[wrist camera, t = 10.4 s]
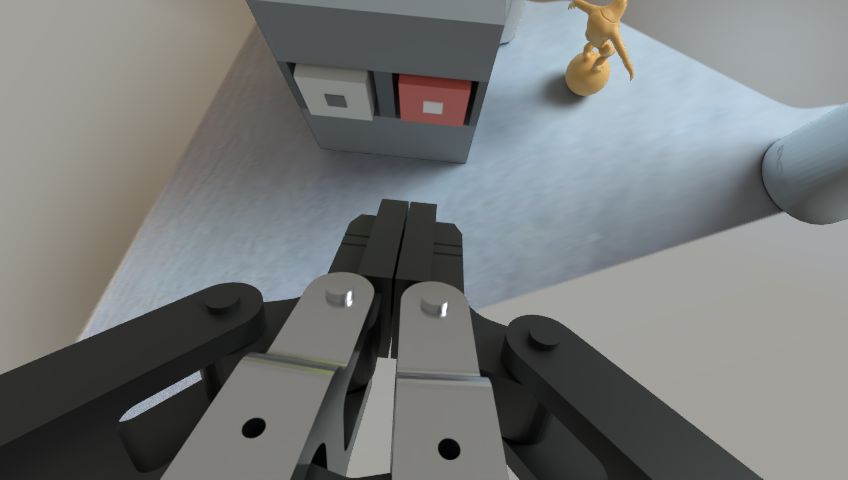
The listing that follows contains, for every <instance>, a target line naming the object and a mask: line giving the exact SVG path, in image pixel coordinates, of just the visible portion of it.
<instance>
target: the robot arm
mask: <svg viewBox="0 0 848 480" xmlns="http://www.w3.org/2000/svg"><path fill="white" fill-rule="evenodd" d="M762 176H763V181H764V184H765V187H766V189H767V191H768V193H769V195H770V196H771V198H772V199H773V201H774V202H775V203H776V204H777V205H778V206H779V207H780V208H781V209H782V210H783V211H785V212H786V213H787V214H789V215H790V216H792V217H794V218H796V219H798V220H800V221H803V222H807V223H810V224H819V225H823V224H831V223H835V222H839V221H842V220H846V219H848V102H847V103H846V104H844V105H842V106H840V107H838V108H836V109H834V110H833V111H831V112H829V113H827V114H825V115H824V116H822V117H820V118H818V119H816V120H814V121H812V122H811V123H809V124H807V125H805V126H803V127H801V128H800V129H798V130H796V131H794V132H792V133H791V134H789V135H787V136H785V137H783V138H782V139H780V140H778V141H776V142H775V143H774V144H773V145H772V146H771V147H770V148H769V149H768V151H767V152H766V154H765V156H764V160H763V163H762ZM436 209H437V204H428V203H418V202H411V204H410V208H409V202H408V201H398V200H389V199H382V202H381V205H380V208H379V210H378V213H377V216H373V215H364V214H361V215H360V216H359V217H357V218H356V219H355V220H353V221H352V222H350V224H349V226H348V228H347V231H346V233H345V236H344V237H343V240H342V242H341V245H340V247H339V249H338V251H337V253H336V256H335V258H334V260H333V263H332V265H331V267H330V269H329V272H328V274H326V275H323V276H321V277H318V278H317V279H315V280H314V281H312V282H311V283H310V284H309V286H308V287H307V288H306V290H305V292H304V293H303V295H302V296H301V297H298V298H294V299H288V300H280V301H271V302H263V297H262V294H261V292H260V291H259V290H258V289H257V288H255V287H253V286H251V285H248V284H245V283H234V282H232V283H223V284H218V285H214V286H211V287H208V288H206V289H203V290H201V291H199V292H196V293H194V294H192V295H189V296H187V297H184V298H182V299H180V300H177V301H175V302H173V303H170V304H168V305H165V306H163V307H161V308H158V309H156V310H153V311H151V312H149V313H146V314H144V315H142V316H139V317H137V318H134V319H132V320H130V321H127V322H125V323H123V324H120V325H118V326H115V327H113V328H111V329H108V330H106V331H104V332H101V333H99V334H96V335H94V336H92V337H89V338H87V339H84V340H82V341H80V342H77V343H75V344H73V345H70V346H68V347H65V348H63V349H61V350H58V351H56V352H54V353H51V354H49V355H46V356H44V357H42V358H39V359H37V360H34V361H32V362H30V363H27V364H25V365H23V366H20V367H18V368H16V369H13V370H11V371H9V372H6V373H4V374H1V375H0V480H509V476H508V472H507V466H506V464H507V465H508V466H509V468H510V469H511V470H512V471H513V472H514V474H515V475H516V476H517V477H518V478H519V480H763V479H762V478H761V477H759V476H758V475H757V474H755V473H754V472H753V471H752V470H750V469H749V468H748V467H747V466H745V465H744V464H743V463H741V462H740V461H739V460H737V459H736V458H735V457H734V456H732V455H731V454H730V453H728V452H727V451H726V450H725V449H723V448H722V447H721V446H719V445H718V444H717V443H715V442H714V441H713V440H712V439H710V438H709V437H708V436H706V435H705V434H704V433H703V432H701V431H700V430H699V429H698V428H696V427H695V426H694V425H692V424H691V423H690V422H688V421H687V420H686V419H684V418H683V417H682V416H681V415H679V414H678V413H677V412H676V411H674V410H673V409H671V408H670V407H669V406H668V405H667V404H665V403H664V402H663V401H661V400H660V399H658V397H656V396H655V395H654V394H652V393H651V392H650V391H648V390H647V389H646V388H645V387H643V386H642V385H641V384H639V383H638V382H637V381H635V380H634V379H633V378H632V377H630V376H629V375H628V374H626V373H625V372H624V371H623V370H621V369H620V368H619V367H617V366H616V365H615V364H614V363H612V362H611V361H610V360H608V359H607V358H606V357H605V356H603V355H602V354H601V353H599V352H598V351H597V350H595V349H594V348H593V347H592V346H590V345H589V344H588V343H587V342H585V341H584V340H583V339H581V338H580V337H579V336H578V335H576V334H575V333H574V332H572V331H571V330H570V329H568V328H567V327H566V326H564V325H563V324H561V323H559V322H558V321H556V320H553V319H551V318H548V317H544V316H539V315H525V316H520V317H518V318H516V319H514V320H512V322H510V324H509V325H508V326H505V325H502V324H499V323H496V322H493V321H491V320H488V319H486V318H484V317H482V316H481V315H479V314H478V313H476V312H475V311H474V310H473V309H472V308H471V307H470V306H469V304H468V300H467V298H466V297H465V295H464V279H463V248H462V234H461V232H460V231H459V230H458V228H457V227H456V226H455V224H451V223H441V222H436ZM391 337H392V346H391V358H393V359H397V364H396V377H395V391H394V410H393V426H392V445H391V463H390V473H387V474H381V475H374V476H368V477H361V478H348V477H346V473H347V468H348V464H349V460H350V456H351V453H352V449H353V446H354V443H355V439H356V436H357V433H358V430H359V426H360V423H361V420H362V416H363V413H364V409H365V406H366V402H367V399H368V396H369V393H370V389H371V385H372V376H373V374H374V371H375V367H376V362H377V357H382V358H388V354H389V348H390V343H391ZM199 370H200V374H201V377H202V380H200V381H198V382H197V383H195V384H193V385H191V386H189V387H188V388H186V389H184V390H182V391H181V392H179V393H177V394H175V395H173V396H172V397H170V398H168V399H166V400H164V401H163V402H161V403H159V404H157V405H156V406H154V407H152V408H150V409H148V410H147V411H145V412H143V413H141V414H140V415H138V416H136V417H134V418H132V419H130V420H127V421H122V422H119V420H120V419H121V417H122V416H123V415H124V414H125V413H126V412H127V411H128V410H129V409H130V408H132V407H133V406H135V405H136V404H138V403H140V402H142V401H144V400H145V399H147V398H149V397H151V396H153V395H155V394H156V393H158V392H160V391H162V390H164V389H166V388H167V387H169V386H171V385H173V384H175V383H177V382H179V381H180V380H182V379H184V378H186V377H188V376H190V375H191V374H193V373H195V372H197V371H199Z"/></svg>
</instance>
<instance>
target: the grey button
mask: <svg viewBox="0 0 848 480" xmlns="http://www.w3.org/2000/svg"><path fill="white" fill-rule="evenodd" d="M293 77H294V79H295V81H296V83H297V85H298V87H299V90H300V92H301V94H302V96H303V98H304V100H305V102H306V105H307V107H308V109H309V111H310V113H311V115H321V116H330V117H340V118H350V119H360V120H369V121H373V114H374V108H375V101H376V94H377V91H376V85H375V79H374V72H373V71H371V70H361V69H351V68H342V67H332V66H322V65H312V64H302V63H296V66H295V71H294V76H293Z"/></svg>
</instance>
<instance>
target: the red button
mask: <svg viewBox="0 0 848 480" xmlns="http://www.w3.org/2000/svg"><path fill="white" fill-rule="evenodd" d="M470 90H471V81H469V80H460V79H450V78H440V77H430V76H420V75H410V74H401V73H400V77H399V97H400V111H401V121H410V122H420V123H430V124H439V125H449V126H459V127H463V123H464V118H465V113H466V109H467V104H468V100H469V95H470Z"/></svg>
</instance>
